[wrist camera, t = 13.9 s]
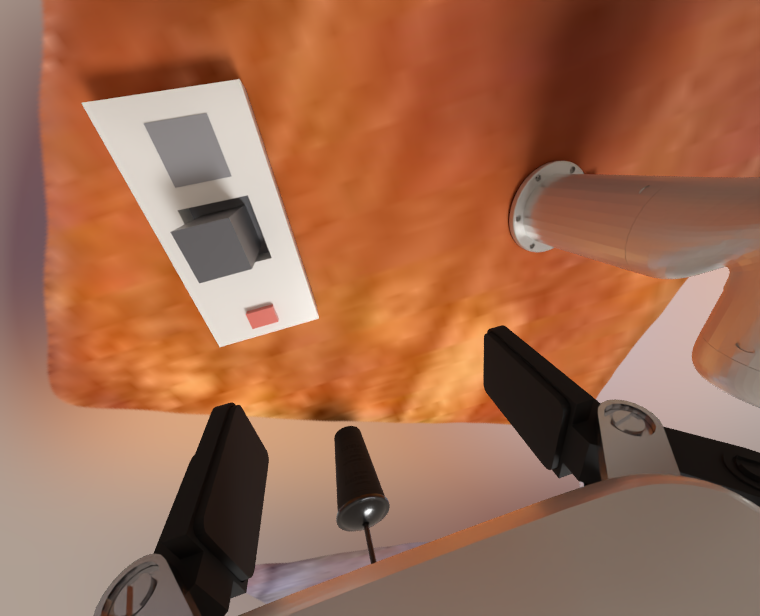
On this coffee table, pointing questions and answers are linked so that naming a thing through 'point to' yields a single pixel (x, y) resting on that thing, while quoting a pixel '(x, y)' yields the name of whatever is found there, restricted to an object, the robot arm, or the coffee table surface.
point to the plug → (219, 243)
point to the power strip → (210, 197)
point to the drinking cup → (357, 486)
